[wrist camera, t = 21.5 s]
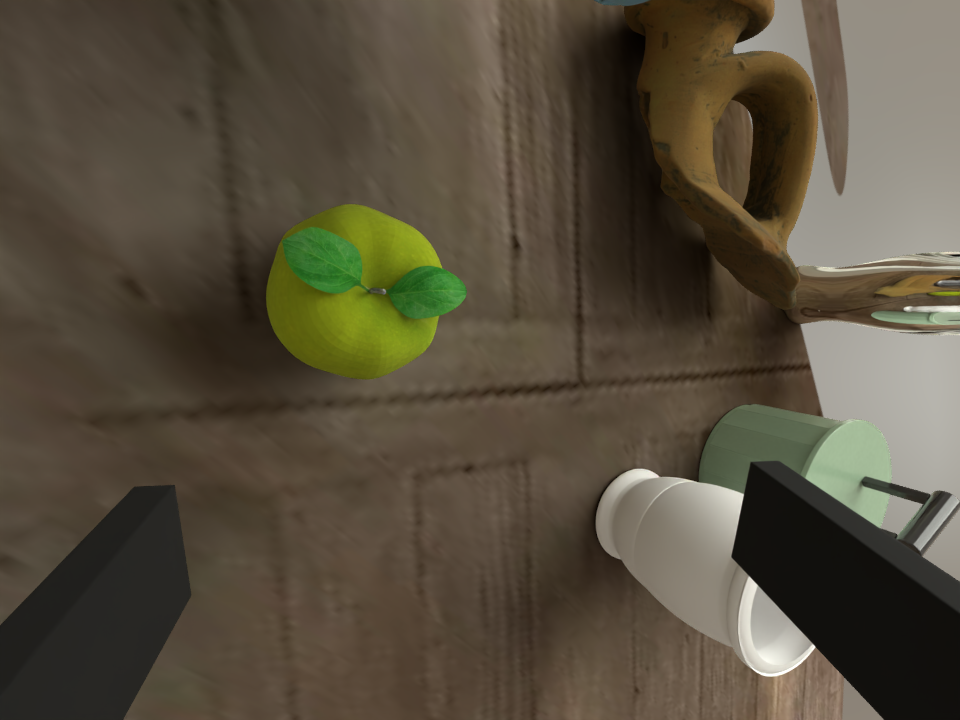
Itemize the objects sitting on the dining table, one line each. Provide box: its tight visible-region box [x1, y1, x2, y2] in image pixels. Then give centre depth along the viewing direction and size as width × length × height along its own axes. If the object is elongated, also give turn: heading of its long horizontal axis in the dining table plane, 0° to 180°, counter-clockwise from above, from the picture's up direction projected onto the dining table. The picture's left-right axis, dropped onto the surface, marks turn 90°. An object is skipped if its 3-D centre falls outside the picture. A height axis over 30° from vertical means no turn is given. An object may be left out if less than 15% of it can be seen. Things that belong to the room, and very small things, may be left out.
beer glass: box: [784, 252, 960, 335], centre depth 47 cm, size 7×7×15 cm
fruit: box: [266, 204, 467, 379], centre depth 28 cm, size 9×9×10 cm
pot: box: [699, 404, 842, 494], centre depth 48 cm, size 13×13×10 cm
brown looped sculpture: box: [624, 0, 818, 310], centre depth 38 cm, size 18×13×22 cm
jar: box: [596, 469, 815, 676], centre depth 39 cm, size 11×10×15 cm
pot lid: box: [800, 419, 960, 557], centre depth 41 cm, size 14×14×8 cm
